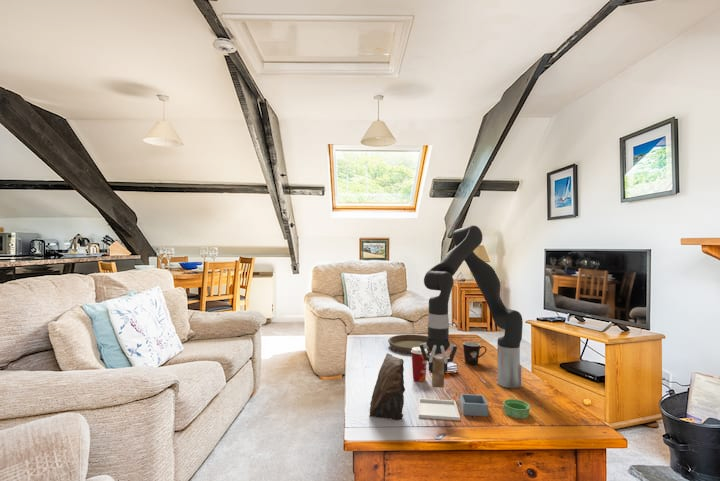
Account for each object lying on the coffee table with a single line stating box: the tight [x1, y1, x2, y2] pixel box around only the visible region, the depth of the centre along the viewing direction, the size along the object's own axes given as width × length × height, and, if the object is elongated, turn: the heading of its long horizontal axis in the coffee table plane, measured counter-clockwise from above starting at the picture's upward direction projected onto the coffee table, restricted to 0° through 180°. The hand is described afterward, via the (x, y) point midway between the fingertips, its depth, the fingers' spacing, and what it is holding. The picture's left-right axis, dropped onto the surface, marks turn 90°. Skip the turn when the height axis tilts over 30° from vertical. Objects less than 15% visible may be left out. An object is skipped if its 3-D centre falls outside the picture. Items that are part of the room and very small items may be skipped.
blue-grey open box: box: [459, 393, 489, 417], centre depth 135 cm, size 9×9×5 cm
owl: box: [369, 353, 406, 421], centre depth 134 cm, size 13×13×20 cm
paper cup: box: [411, 347, 429, 383], centre depth 168 cm, size 8×8×14 cm
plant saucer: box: [388, 334, 431, 355], centre depth 221 cm, size 31×31×5 cm
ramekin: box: [503, 398, 531, 419], centre depth 133 cm, size 9×9×4 cm
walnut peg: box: [431, 355, 445, 389], centre depth 135 cm, size 4×4×10 cm
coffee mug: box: [462, 341, 487, 366], centre depth 192 cm, size 12×9×10 cm
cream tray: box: [417, 397, 461, 421], centre depth 134 cm, size 14×14×2 cm
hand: (437, 372), depth 135 cm, fingers closed on walnut peg, 4 cm apart
